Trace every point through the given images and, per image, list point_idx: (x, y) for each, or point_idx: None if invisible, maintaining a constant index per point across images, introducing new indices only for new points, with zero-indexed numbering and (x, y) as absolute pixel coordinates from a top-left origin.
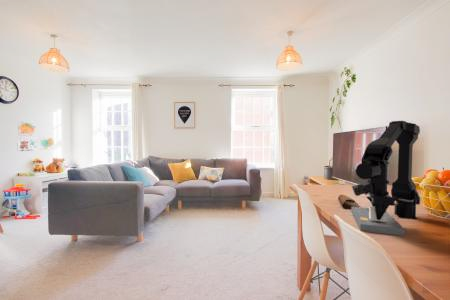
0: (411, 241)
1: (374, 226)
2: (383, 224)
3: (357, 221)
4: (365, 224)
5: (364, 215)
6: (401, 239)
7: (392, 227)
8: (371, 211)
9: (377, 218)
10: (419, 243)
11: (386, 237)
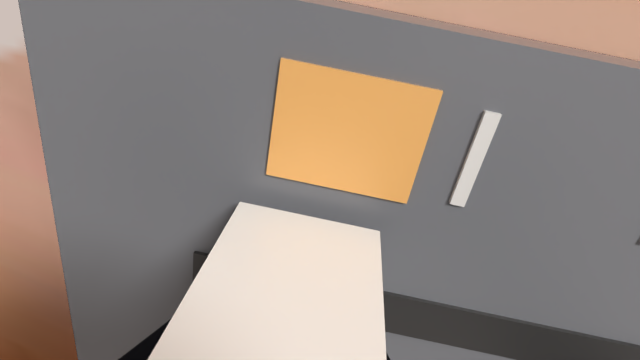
0: (16, 327)
1: (59, 160)
2: (147, 292)
3: (382, 13)
4: (26, 38)
5: (595, 233)
6: (24, 284)
7: (74, 330)
8: (163, 338)
9: None
10: (2, 352)
11: (7, 188)
